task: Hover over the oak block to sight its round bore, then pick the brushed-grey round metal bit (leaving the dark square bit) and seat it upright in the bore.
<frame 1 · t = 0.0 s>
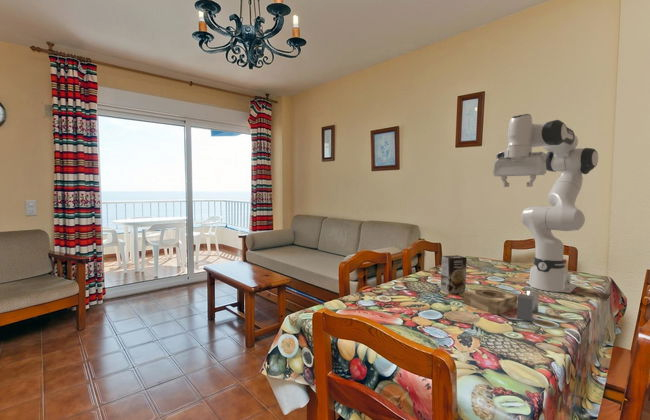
hand: (517, 186, 137), 48 cm above the table, fingers open, 8 cm apart
square bit: (524, 318, 118), on the table
coffee box: (452, 291, 150), on the table
bore block: (489, 305, 130), on the table
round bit: (531, 311, 125), on the table
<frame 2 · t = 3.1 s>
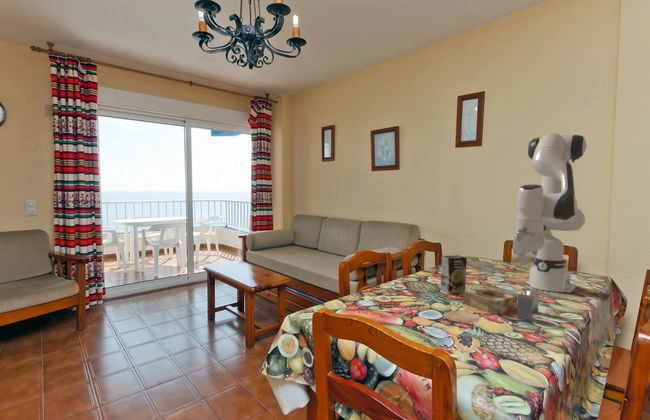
hand: (527, 263, 124), 19 cm above the table, fingers open, 8 cm apart
nothing on the table moved.
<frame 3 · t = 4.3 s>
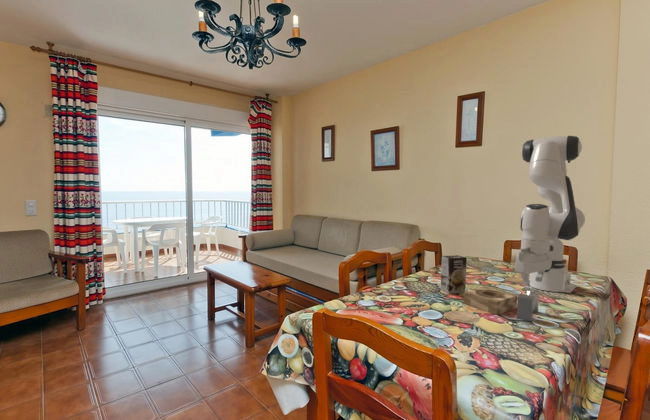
hand: (532, 283, 124), 11 cm above the table, fingers open, 8 cm apart
nothing on the table moved.
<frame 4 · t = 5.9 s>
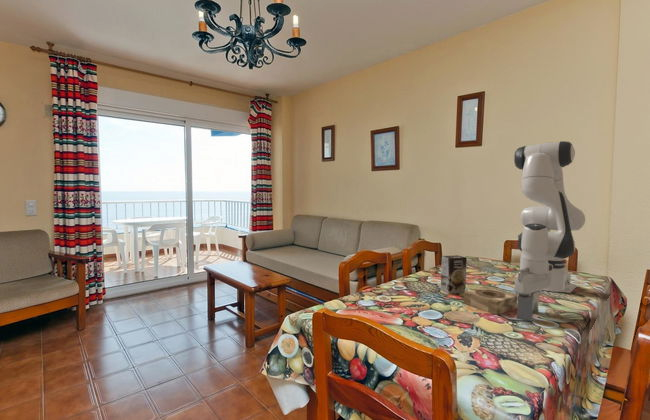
hand: (531, 302, 124), 4 cm above the table, fingers closed on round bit, 4 cm apart
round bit: (531, 311, 125), on the table, touching gripper
everything else where it was.
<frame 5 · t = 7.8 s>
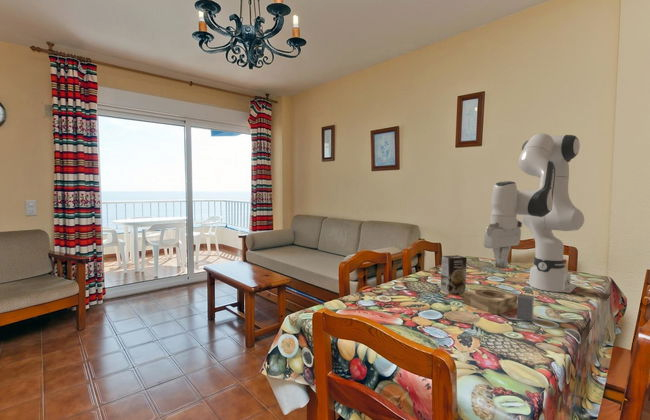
hand: (501, 258, 127), 20 cm above the table, fingers closed on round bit, 4 cm apart
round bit: (501, 267, 128), point 16 cm above the table, touching gripper
everything else where it was.
when the fingers open (6 cm above the table, at t = 10.1 s): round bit drops 2 cm, resting in bore block.
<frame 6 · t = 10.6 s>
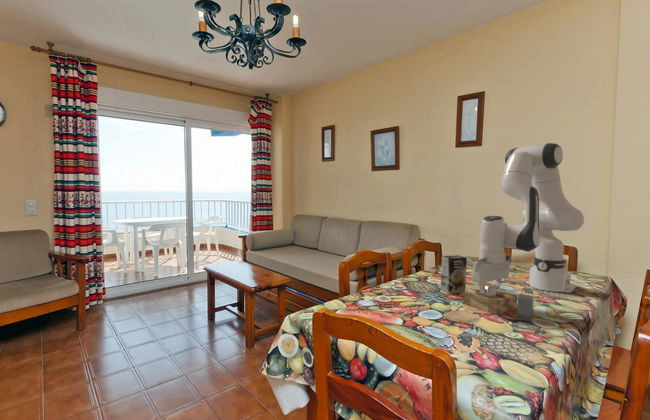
hand: (490, 291, 130), 6 cm above the table, fingers open, 8 cm apart
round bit: (489, 305, 130), resting in bore block
everything else where it was.
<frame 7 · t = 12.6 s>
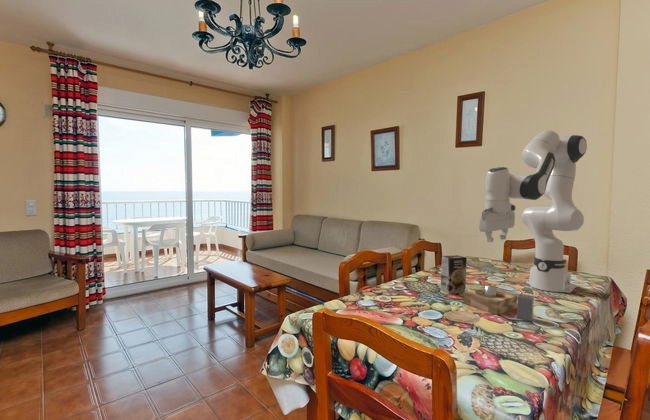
hand: (496, 240, 134), 26 cm above the table, fingers open, 8 cm apart
nothing on the table moved.
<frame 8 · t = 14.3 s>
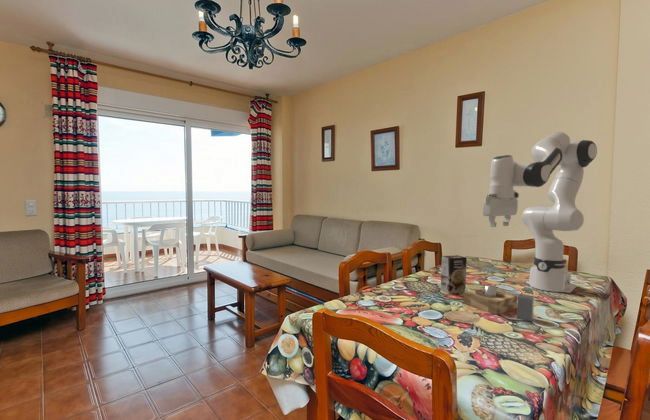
hand: (499, 226, 138), 31 cm above the table, fingers open, 8 cm apart
nothing on the table moved.
at the end: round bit 0.1 cm off-centre in the bore block, point 0.0 cm above the bore block's base; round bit tilted 0°; the gripper is holding nothing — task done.
